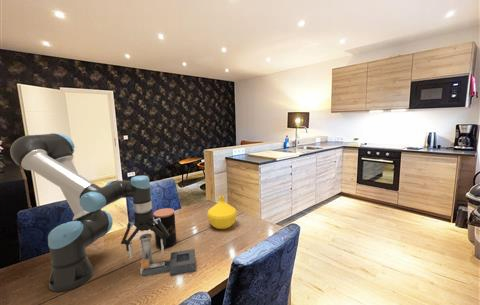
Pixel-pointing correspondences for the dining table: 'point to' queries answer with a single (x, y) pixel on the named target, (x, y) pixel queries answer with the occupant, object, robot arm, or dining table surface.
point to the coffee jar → (166, 226)
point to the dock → (176, 264)
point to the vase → (222, 214)
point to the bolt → (150, 265)
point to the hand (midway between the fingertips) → (147, 254)
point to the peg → (146, 246)
